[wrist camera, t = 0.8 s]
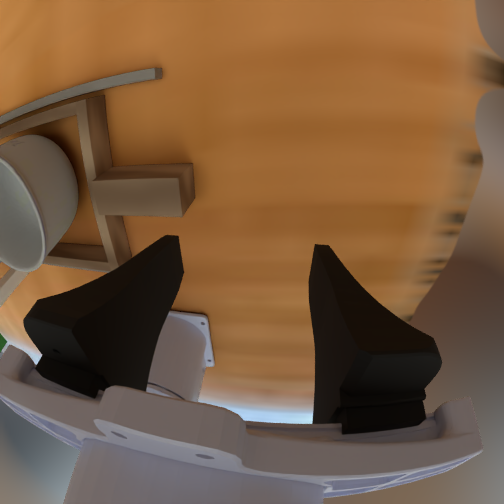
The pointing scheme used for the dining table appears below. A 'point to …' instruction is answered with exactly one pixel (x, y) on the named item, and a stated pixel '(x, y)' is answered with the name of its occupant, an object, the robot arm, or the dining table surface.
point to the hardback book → (2, 342)
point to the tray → (113, 187)
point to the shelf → (13, 278)
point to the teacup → (34, 200)
